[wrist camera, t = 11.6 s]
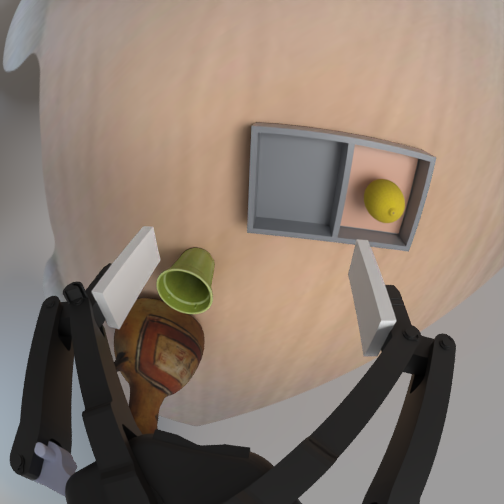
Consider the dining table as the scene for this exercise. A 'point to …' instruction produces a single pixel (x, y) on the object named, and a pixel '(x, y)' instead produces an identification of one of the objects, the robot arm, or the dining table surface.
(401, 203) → the lemon
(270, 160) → the sorting tray
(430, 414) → the robot arm
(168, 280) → the plant pot
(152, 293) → the dining table surface
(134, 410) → the ceramic pitcher
